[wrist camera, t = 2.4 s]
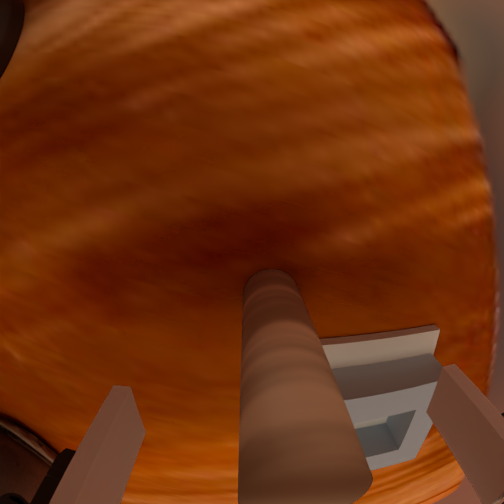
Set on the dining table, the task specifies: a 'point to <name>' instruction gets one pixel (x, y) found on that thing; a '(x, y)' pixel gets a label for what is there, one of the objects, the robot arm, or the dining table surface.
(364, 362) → the socket
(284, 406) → the peg
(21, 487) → the potted plant
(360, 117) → the dining table surface
